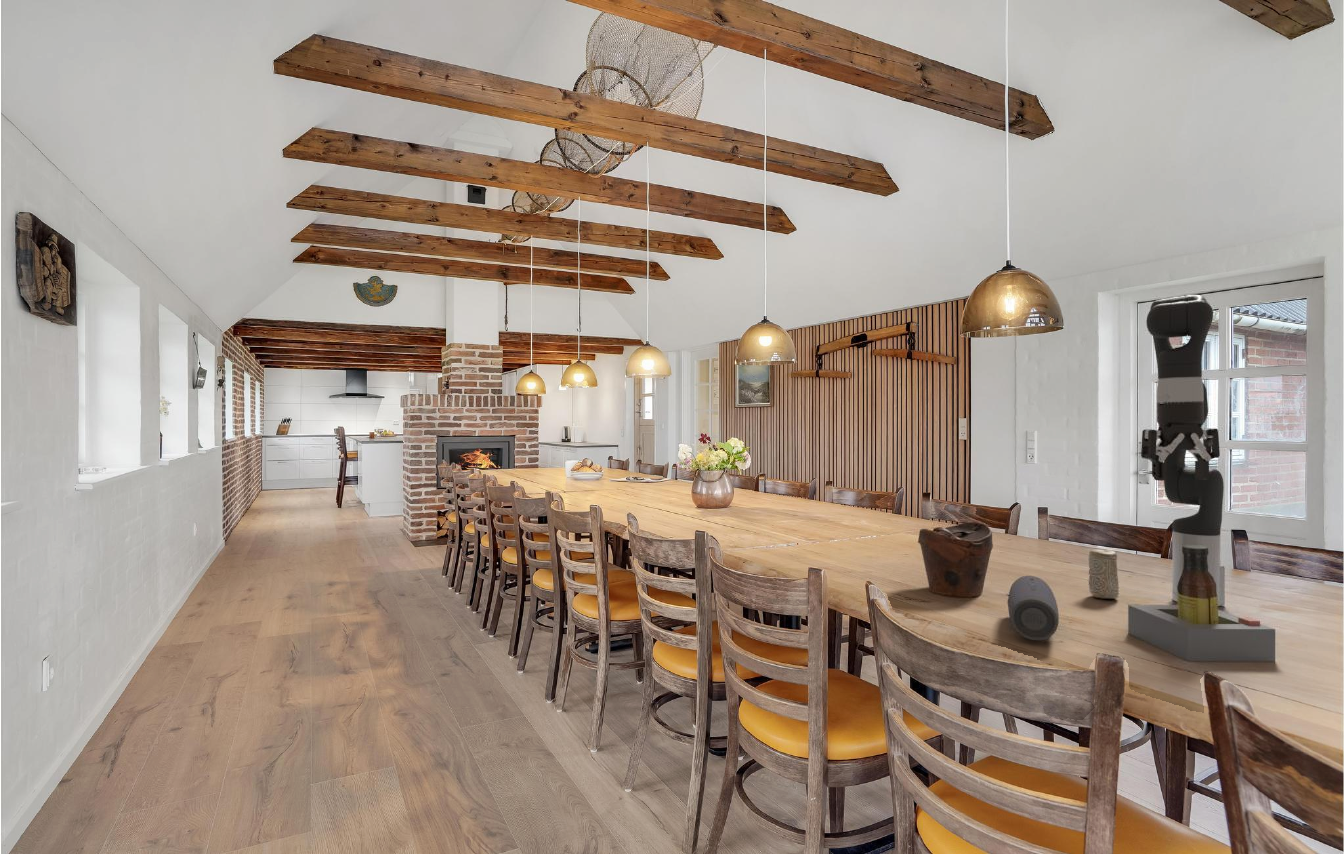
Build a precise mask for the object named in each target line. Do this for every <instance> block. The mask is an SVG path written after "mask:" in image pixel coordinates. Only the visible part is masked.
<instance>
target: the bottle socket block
mask: <svg viewBox="0 0 1344 854" xmlns="http://www.w3.org/2000/svg"><path fill="white" fill-rule="evenodd" d="M1127 605H1128V606H1127V607H1128V608H1127V611H1128V614H1127V615H1128V616H1127V624H1128V625H1127V628H1128V629H1127V632H1128V634H1129V635H1130V636H1133V637H1135V638H1137V639H1139V640H1141V641H1144V642H1145V643H1148V644H1150V645H1152V646H1155V647H1157V648H1159V649H1161V650H1163V651H1165V652H1167V653H1169V654H1172V655H1174V656H1176V657H1179V658H1180V659H1183V660H1185V661H1186V662H1253V663H1254V662H1262V663H1263V662H1264V663H1266V662H1267V663H1269V662H1273V663H1274V662H1276V629H1275V628H1272V627H1269V626H1267V625H1265V624H1261V621H1260V620H1258V619H1255V618H1252V617H1246V616H1245V617H1244V616H1238V615H1235V614H1233V613H1229V612H1226V611H1223V610H1221V609H1218V619H1219V624H1193V623H1190V622H1188V621H1185V620H1183V619H1180V618H1178V604H1127Z"/></svg>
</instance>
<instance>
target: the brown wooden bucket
mask: <svg viewBox="0 0 1344 854" xmlns="http://www.w3.org/2000/svg"><path fill="white" fill-rule="evenodd" d="M917 543H918V544H919V545H920V549H921V553H922V558H923V563H924V567H925V568H924V569H925V572H926V578H927V582H928V583H927V584H928V588H929V591H930V592H932V593H933V594H937V595H942V596H947V597H954V598H972V597H973V598H974V597H978V596H981V595H982V594H983V589H984V586H985V581H986V575H987V573H988V566H989V562H990V558H991V553H992V550H993V549H994V547H993V546H994V544H993V532H992V530H991V528H990V527H989V526H987V525H986V524H985V523H981V522H977V521H975V522H974V521H973V522H972V521H971V522H964V523H961V524H957V525H953V526H947V527H943V526H942V527H941V526H939V527H935V528H933V529H928V528H921V529H919V533H918V541H917Z"/></svg>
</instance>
